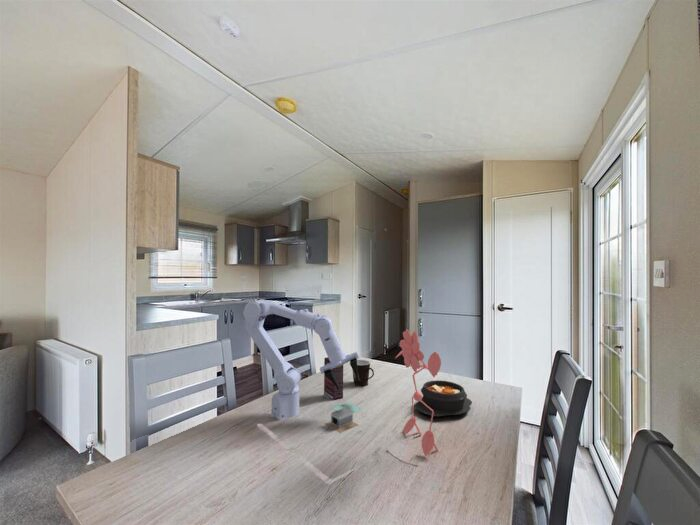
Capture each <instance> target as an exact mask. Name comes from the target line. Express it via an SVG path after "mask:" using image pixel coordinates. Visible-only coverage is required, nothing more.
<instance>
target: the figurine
mask: <svg viewBox="0 0 700 525" xmlns="http://www.w3.org/2000/svg"><path fill="white" fill-rule="evenodd" d="M418 336H419V335H418V333H417V331H415V330H413V332H412V334H411V332H410V331H409V329H405V331H403V332H402V337H403V339H401V340H400V341H399V347H400V348H401V351H400V352H399V353H398V354H397V355H396V356H395V358H394V359H397V358H398V357H399V356H401V355H402V356H403V362H404V365H405V368H409V367H410V366H411V369H412V370H413V371H414V372H413V374H412V380H413V385H414V389H415V392H414V393H413V396H412V397H411V418H409V419H408V420H407V422H406V423H405V425H404V427H403V429H402V431H401V432H402V433H403V434H404V435H407V434H409V433H410V432H411V431H412V430H413V428H414V427H416V428H415V429H417V432H418V435H419V436H420V437H421V436H422V438H421V448H422V451H423V454H424V456H425V457H426V456H428V455H429V454H430V453H431V452H432V450H433V448H434V449H435V451H436V452H437V451H439V449H438V447H437V446H436V443H435V435H434V432H433V431H431V429H432V425H433V418H434V416H433V414H434V412H433V410H432V409H431V408H430V407H428V406H427V405H426V404H425V403H424V402H423V401H421V400H422V397H423V394H422V393H421V391H418V389H417V385H416V378H415V375H416V374H418V373H420V372H421V371H423V370H424V369H427V370H428V371H429V373H430V375H431V376H432V377H433V378H435V377H436V376H437V375H438V373H439V372H440V370H441V366H442V359H441V357H440V354H438V353H437V351H435V350H434V351H433V353H431V354H430V356H429V358H428V360H427V364H426V363H425V361H424V358H425V354H424V353H423V351H422V350H421V349H420V342H419V338H418ZM420 362H421V364H420ZM414 400H415V401H416V402H418V401H421V402H422V403H423V404H424V405H425V406H427V407H428V408H429V409H430V410H431V411H432V416H431V418H430V424H429V430H427V431H425V432H424V434H423V435H422V432H421V430H420V429H419V426H418V425H417V417H415V416H414ZM387 453H388V454H389V455H392V456H393V458H395V459H397V460H399V462H400V463H404V464H408V465H411V466H415V467H418V465H417V464H412V463H409V462H406V461H404V460H401V459H399V457H398V458H397V457H396V456H395V455H393V454H392V453H391V452H390V450H387Z"/></svg>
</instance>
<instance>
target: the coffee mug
mask: <svg viewBox="0 0 700 525" xmlns="http://www.w3.org/2000/svg"><path fill="white" fill-rule="evenodd" d="M351 369H352V368H351ZM357 369H358V375H359V379H360V380H359V381H357V379H356V376H355V373H354V371H353V369H352V379H353V386H355V387H358V388H359V387H360V388H361V387H367V386H368V384H369V380H370V379H372V378H374V375H375V371H374V370H373V368H372V367H371V361H369V360H368V359H367V360H366V359H357ZM370 371H371V373H372V375H371V376H370ZM369 376H370V377H369Z"/></svg>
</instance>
